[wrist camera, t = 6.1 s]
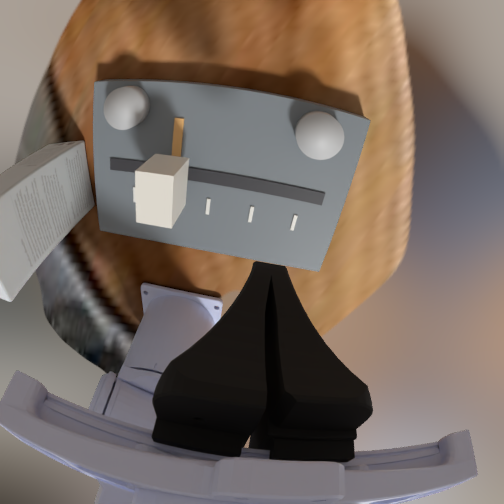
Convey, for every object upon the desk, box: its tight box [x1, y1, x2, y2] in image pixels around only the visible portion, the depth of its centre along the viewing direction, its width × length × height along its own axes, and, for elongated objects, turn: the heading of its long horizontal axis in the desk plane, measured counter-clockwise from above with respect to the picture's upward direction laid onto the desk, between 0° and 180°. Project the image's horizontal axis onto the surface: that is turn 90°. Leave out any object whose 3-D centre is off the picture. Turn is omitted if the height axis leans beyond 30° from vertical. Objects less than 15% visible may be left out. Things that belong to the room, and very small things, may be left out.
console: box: [93, 79, 371, 272], centre depth 19 cm, size 12×18×3 cm, turn 80°
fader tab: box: [135, 154, 189, 229], centre depth 17 cm, size 3×2×4 cm
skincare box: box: [0, 141, 95, 302], centre depth 16 cm, size 6×4×12 cm
